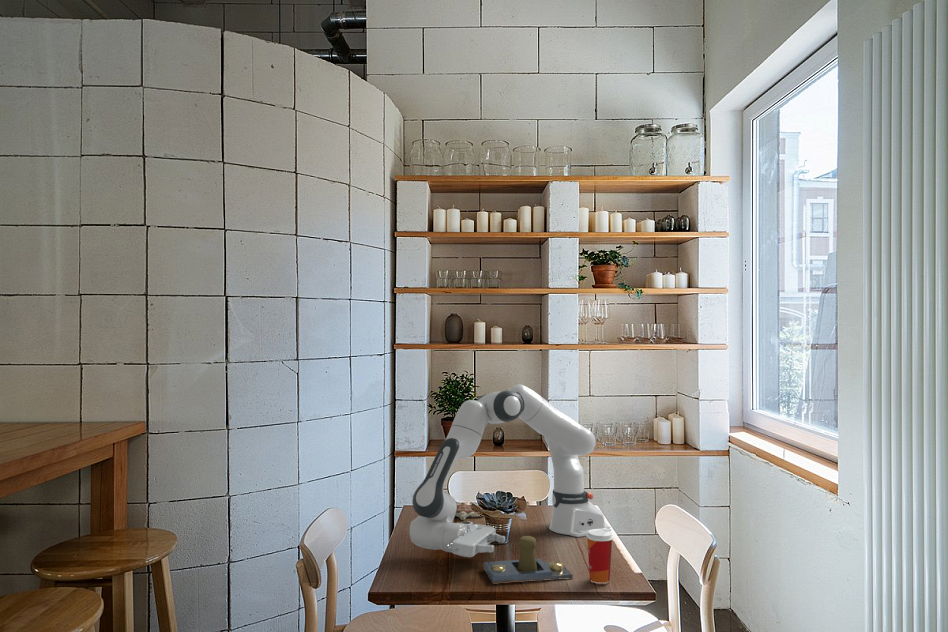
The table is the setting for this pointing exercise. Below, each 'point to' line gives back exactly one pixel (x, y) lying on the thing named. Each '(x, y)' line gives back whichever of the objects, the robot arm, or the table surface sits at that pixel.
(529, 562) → the olive green pepper mill
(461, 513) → the decorative turtle
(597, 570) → the paper cup
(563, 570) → the slotted plate with knobs
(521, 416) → the robot arm
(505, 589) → the table surface
